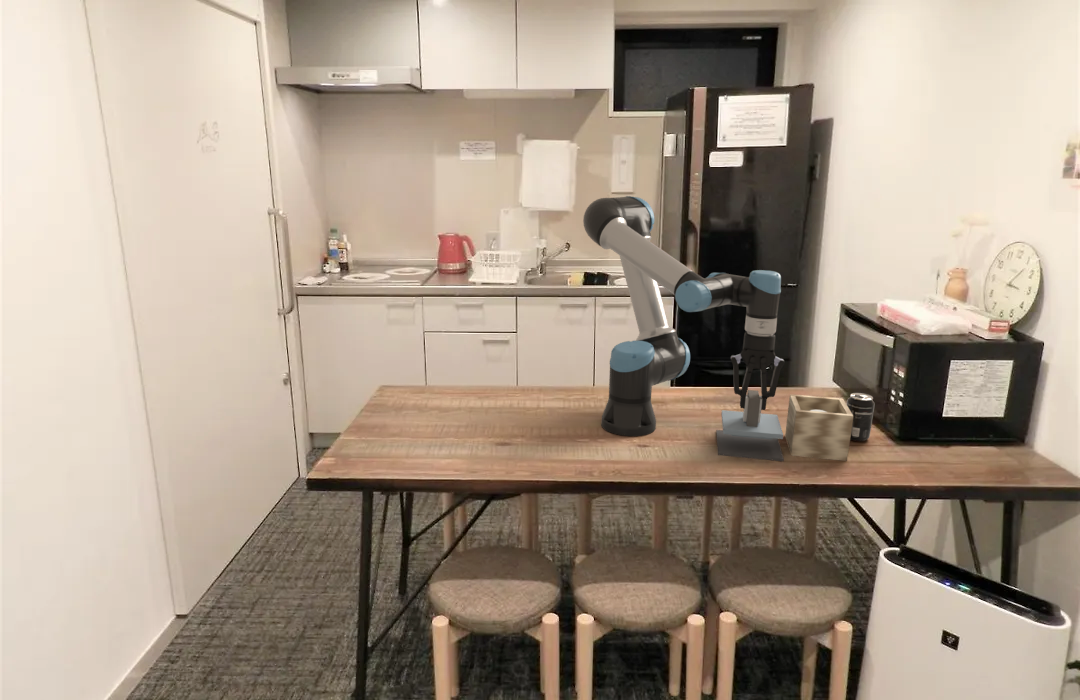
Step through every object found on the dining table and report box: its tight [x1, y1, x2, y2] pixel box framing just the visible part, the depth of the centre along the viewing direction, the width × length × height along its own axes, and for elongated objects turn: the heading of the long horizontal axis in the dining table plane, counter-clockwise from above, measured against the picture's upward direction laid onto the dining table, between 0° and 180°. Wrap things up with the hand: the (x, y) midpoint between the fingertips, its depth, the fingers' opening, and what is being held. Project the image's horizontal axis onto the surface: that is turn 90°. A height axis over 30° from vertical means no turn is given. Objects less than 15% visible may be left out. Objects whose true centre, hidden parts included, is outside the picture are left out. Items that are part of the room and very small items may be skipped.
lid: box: [721, 389, 784, 440], centre depth 185 cm, size 14×14×10 cm
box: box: [784, 393, 853, 462], centre depth 185 cm, size 13×13×12 cm
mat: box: [715, 429, 785, 462], centre depth 187 cm, size 16×16×1 cm
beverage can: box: [846, 392, 875, 442], centre depth 192 cm, size 7×7×12 cm
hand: (751, 420), depth 185 cm, fingers closed on lid, 3 cm apart
